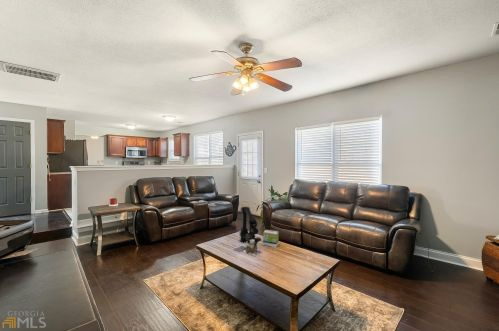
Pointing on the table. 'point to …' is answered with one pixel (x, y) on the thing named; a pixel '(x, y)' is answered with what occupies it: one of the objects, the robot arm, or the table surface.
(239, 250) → the slate mat
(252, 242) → the lid
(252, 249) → the walnut box
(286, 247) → the table surface
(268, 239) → the tea box
